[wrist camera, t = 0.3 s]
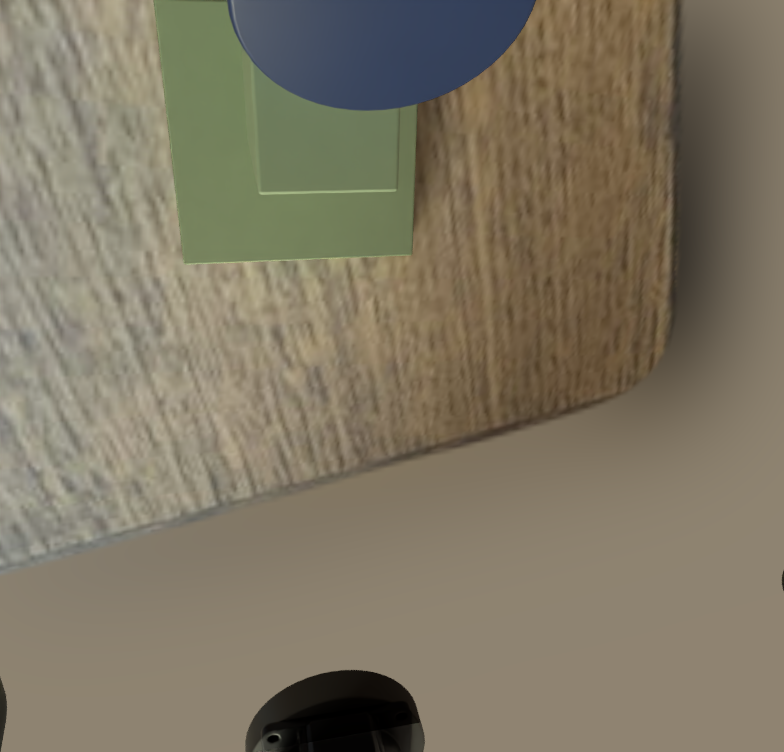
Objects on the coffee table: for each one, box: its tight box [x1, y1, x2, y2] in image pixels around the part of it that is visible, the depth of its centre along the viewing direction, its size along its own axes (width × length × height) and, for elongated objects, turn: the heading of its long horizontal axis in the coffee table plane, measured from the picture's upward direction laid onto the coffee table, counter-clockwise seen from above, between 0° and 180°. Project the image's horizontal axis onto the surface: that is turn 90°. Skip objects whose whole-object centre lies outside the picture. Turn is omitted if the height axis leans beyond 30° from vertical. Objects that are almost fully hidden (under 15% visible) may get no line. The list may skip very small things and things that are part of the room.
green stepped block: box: [154, 0, 418, 265], centre depth 15 cm, size 6×6×7 cm
